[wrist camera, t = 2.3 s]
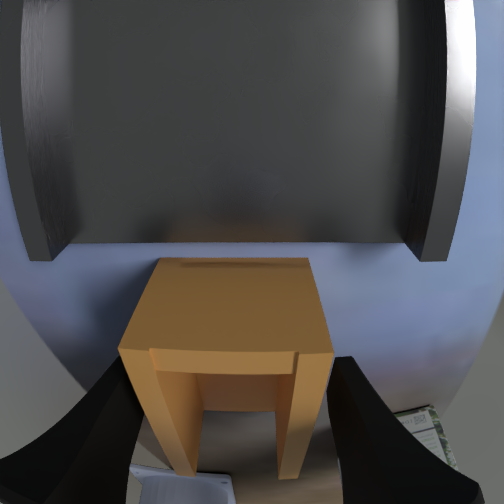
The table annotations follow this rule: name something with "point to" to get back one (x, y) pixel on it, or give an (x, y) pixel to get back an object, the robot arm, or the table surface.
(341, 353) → the table surface
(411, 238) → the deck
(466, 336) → the table surface
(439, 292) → the table surface
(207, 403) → the tan arch block
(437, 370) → the table surface
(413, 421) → the syrup box
